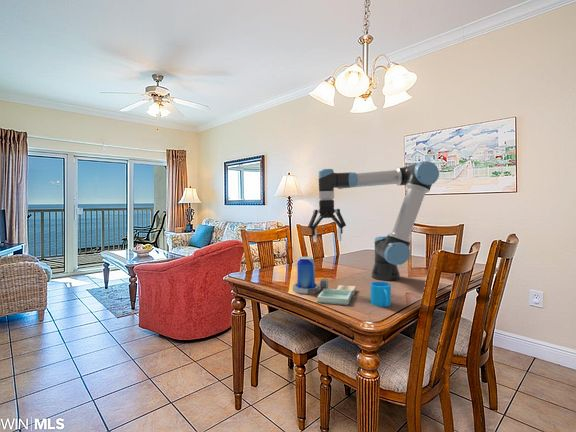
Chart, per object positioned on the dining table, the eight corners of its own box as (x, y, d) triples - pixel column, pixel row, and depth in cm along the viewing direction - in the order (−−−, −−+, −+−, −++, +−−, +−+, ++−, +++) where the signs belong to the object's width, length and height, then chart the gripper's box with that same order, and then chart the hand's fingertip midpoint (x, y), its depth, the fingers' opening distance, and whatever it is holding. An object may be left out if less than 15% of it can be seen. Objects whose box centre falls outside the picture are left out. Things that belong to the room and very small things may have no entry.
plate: (355, 291, 150) (355, 286, 150) (353, 296, 143) (353, 290, 143) (339, 290, 153) (339, 284, 153) (336, 294, 146) (336, 289, 145)
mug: (367, 300, 135) (367, 282, 134) (386, 300, 136) (386, 281, 135) (378, 310, 123) (378, 290, 123) (398, 309, 124) (398, 289, 123)
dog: (328, 289, 153) (328, 279, 153) (326, 291, 149) (326, 281, 149) (322, 288, 154) (322, 278, 153) (320, 291, 150) (320, 280, 150)
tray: (352, 296, 142) (352, 290, 142) (348, 305, 129) (348, 299, 129) (323, 293, 146) (323, 288, 146) (317, 302, 134) (317, 296, 133)
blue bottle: (316, 288, 155) (316, 256, 154) (312, 293, 147) (312, 259, 146) (300, 287, 158) (300, 255, 157) (295, 291, 150) (294, 258, 149)
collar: (321, 287, 156) (321, 282, 156) (315, 294, 144) (315, 289, 144) (297, 285, 160) (297, 281, 160) (290, 292, 148) (290, 287, 148)
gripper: (344, 199, 166) (345, 238, 167) (301, 200, 159) (302, 241, 160) (352, 199, 159) (352, 240, 160) (306, 200, 152) (307, 243, 153)
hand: (327, 241), depth 160 cm, fingers open, 13 cm apart
